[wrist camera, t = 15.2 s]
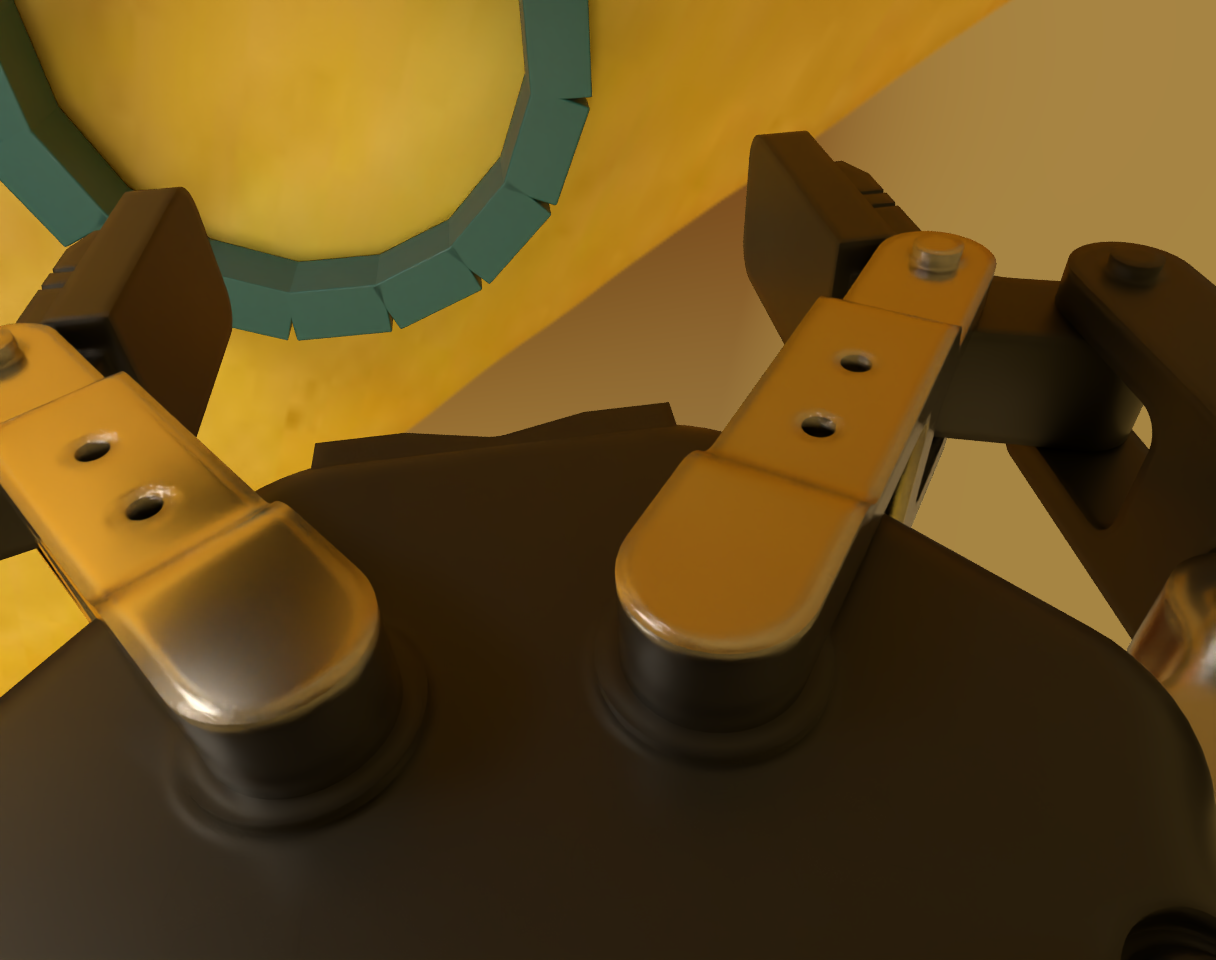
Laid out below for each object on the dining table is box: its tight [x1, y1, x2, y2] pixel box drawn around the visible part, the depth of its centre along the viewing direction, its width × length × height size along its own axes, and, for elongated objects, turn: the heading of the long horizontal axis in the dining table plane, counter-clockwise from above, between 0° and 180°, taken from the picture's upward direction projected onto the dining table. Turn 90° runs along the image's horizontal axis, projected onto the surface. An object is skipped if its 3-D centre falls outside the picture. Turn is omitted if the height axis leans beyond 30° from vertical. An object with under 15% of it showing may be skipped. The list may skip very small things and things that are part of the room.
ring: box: [0, 0, 592, 341], centre depth 33 cm, size 23×23×3 cm
